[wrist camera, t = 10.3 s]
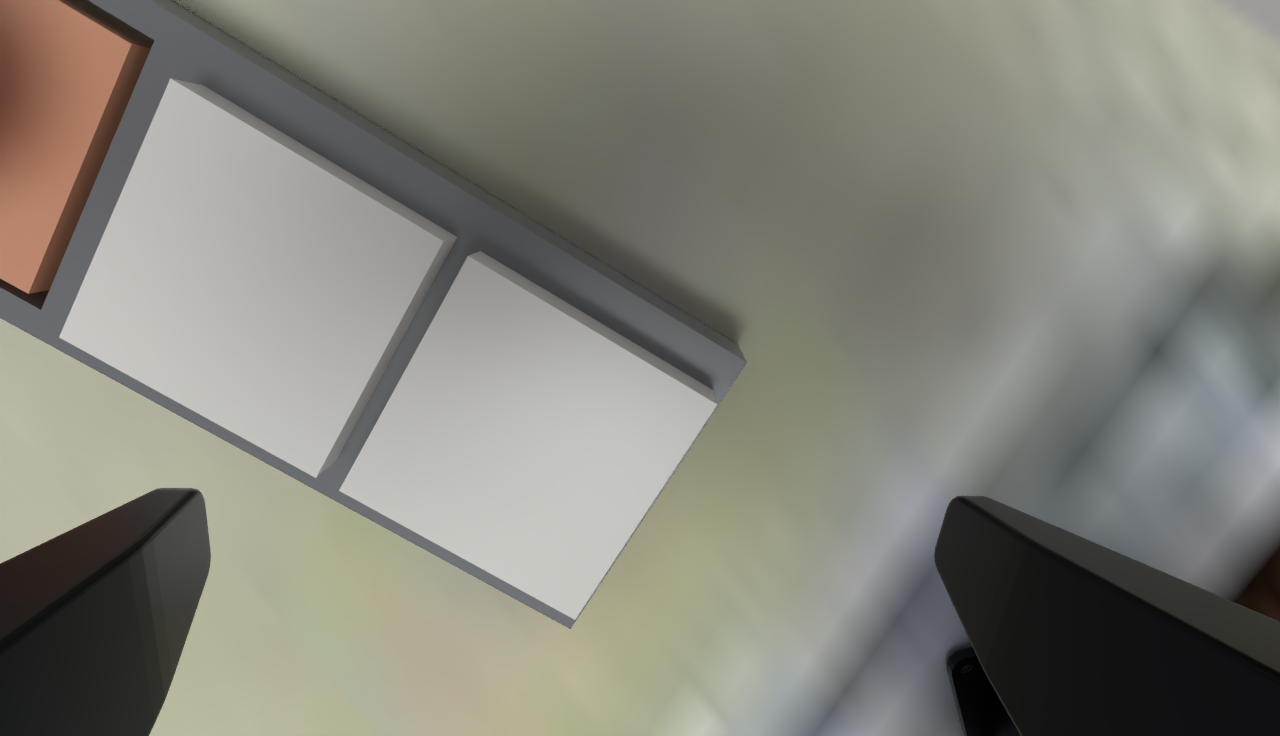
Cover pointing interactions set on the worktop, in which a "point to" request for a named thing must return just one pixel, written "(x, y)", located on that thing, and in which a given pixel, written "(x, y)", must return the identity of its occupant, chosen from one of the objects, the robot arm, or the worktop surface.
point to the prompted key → (56, 123)
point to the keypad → (374, 321)
